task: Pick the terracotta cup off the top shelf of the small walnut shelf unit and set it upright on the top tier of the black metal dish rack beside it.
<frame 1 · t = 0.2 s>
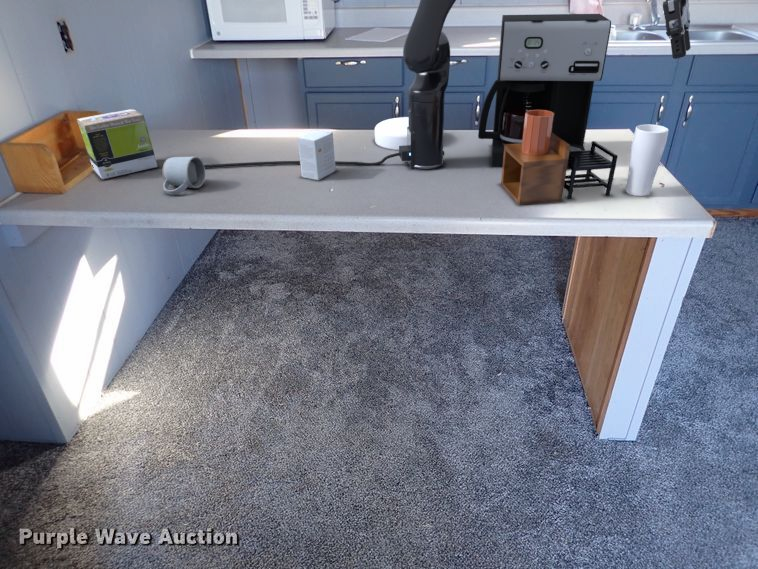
hand: (682, 54, 105), 31 cm above the counter, tool tilted 20°, fingers open, 8 cm apart
tea box: (125, 170, 151), on the counter
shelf: (530, 192, 129), on the counter
drinking glass: (637, 193, 127), on the counter
coffee maker: (528, 157, 151), on the counter
ceramic mug: (184, 188, 138), on the counter
cup: (535, 151, 124), point 10 cm above the counter, touching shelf
small box: (318, 175, 144), on the counter
container: (407, 140, 167), on the counter
rack: (578, 188, 130), on the counter
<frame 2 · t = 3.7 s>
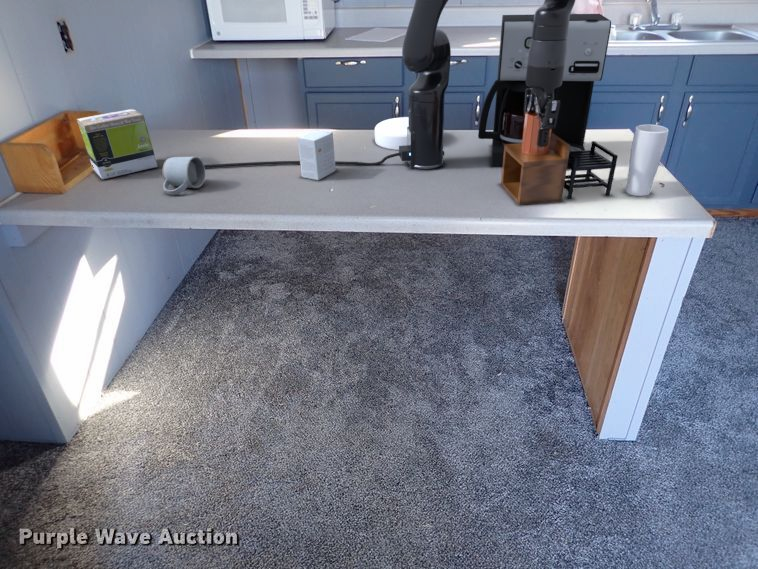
hand: (536, 141, 122), 12 cm above the counter, tool pointing down, fingers closed on cup, 6 cm apart
cup: (535, 151, 124), point 10 cm above the counter, touching gripper, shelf
everything else where it was.
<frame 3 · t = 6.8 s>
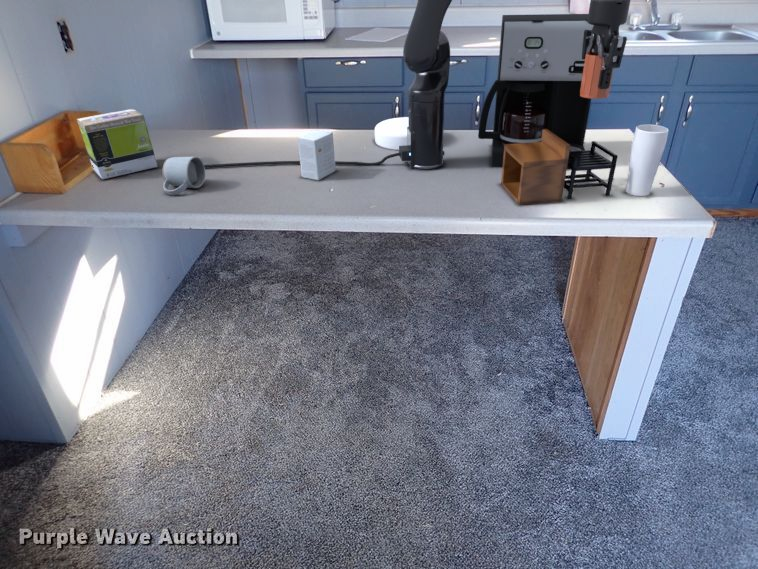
hand: (595, 85, 118), 24 cm above the counter, tool pointing down, fingers closed on cup, 6 cm apart
cup: (594, 95, 119), point 22 cm above the counter, touching gripper
everything else where it was.
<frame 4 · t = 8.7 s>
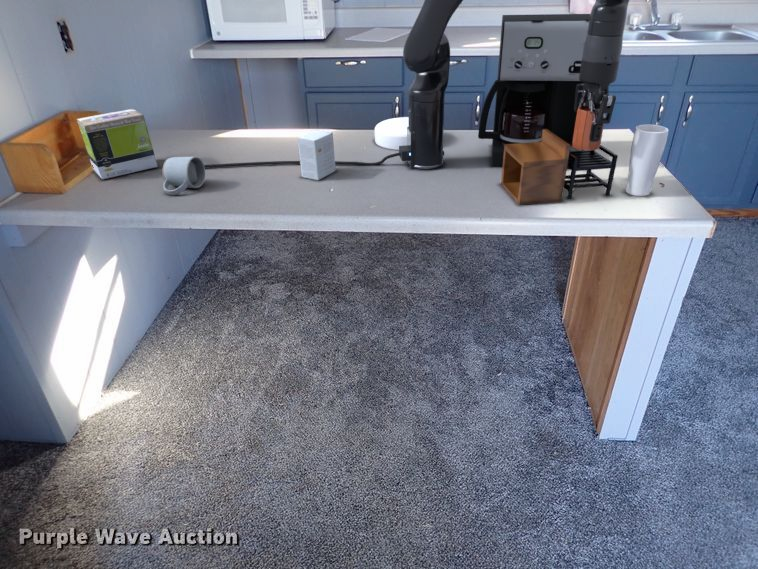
hand: (587, 136, 123), 13 cm above the counter, tool pointing down, fingers closed on cup, 6 cm apart
cup: (585, 146, 125), point 10 cm above the counter, touching gripper
everything else where it was.
when the fingers open (10 cm above the counter, at t = 10.1 s): cup stays where it is, resting on rack.
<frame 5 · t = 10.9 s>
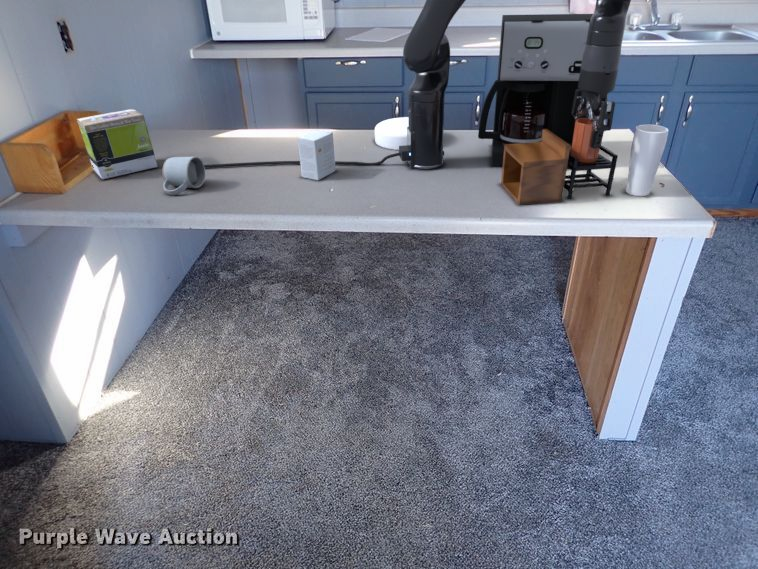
hand: (586, 142, 124), 11 cm above the counter, tool pointing down, fingers open, 8 cm apart
cup: (583, 158, 126), point 7 cm above the counter, touching rack
everything else where it was.
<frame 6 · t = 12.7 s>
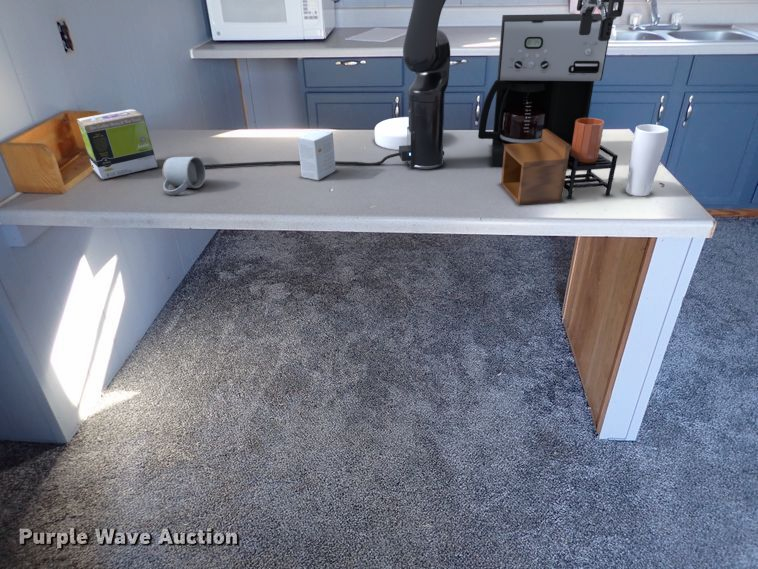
hand: (593, 37, 112), 33 cm above the counter, tool pointing down, fingers open, 8 cm apart
nothing on the counter moved.
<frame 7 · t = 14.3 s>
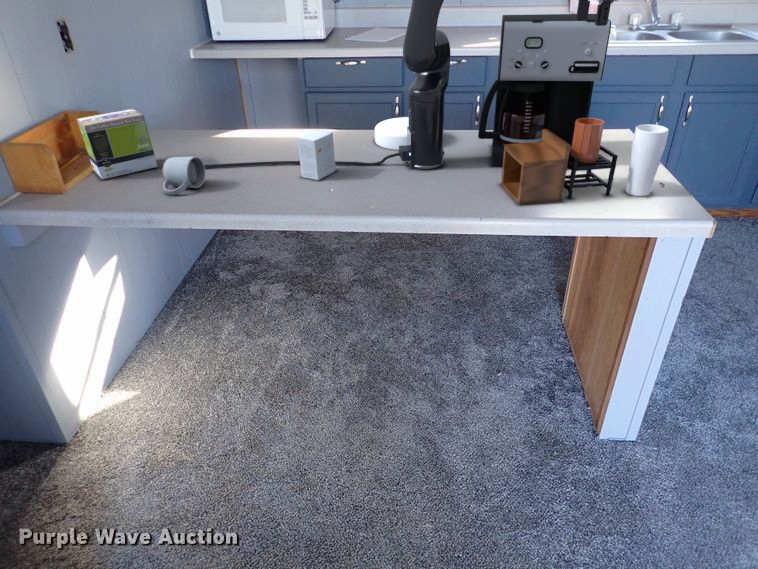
hand: (590, 23, 110), 36 cm above the counter, tool pointing down, fingers open, 8 cm apart
nothing on the counter moved.
at the end: cup 0.0 cm off-centre on the rack, point 7.5 cm above the rack's base; cup tilted 0°; the gripper is holding nothing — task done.
